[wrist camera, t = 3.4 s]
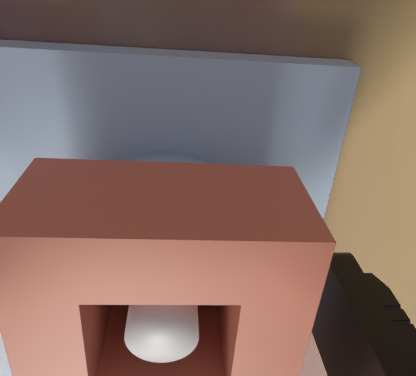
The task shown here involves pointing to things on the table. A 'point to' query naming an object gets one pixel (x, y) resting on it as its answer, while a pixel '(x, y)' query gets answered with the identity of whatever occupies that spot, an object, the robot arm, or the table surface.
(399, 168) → the table surface
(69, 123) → the stand
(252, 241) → the salmon square frame
